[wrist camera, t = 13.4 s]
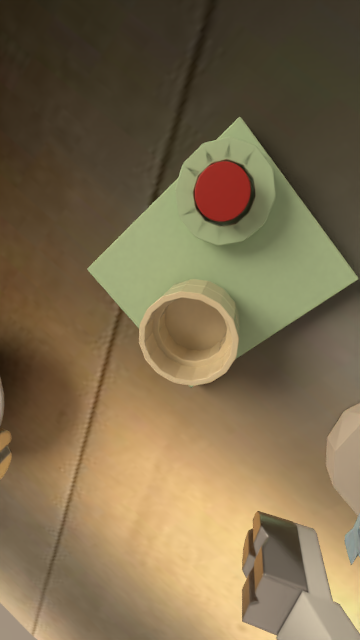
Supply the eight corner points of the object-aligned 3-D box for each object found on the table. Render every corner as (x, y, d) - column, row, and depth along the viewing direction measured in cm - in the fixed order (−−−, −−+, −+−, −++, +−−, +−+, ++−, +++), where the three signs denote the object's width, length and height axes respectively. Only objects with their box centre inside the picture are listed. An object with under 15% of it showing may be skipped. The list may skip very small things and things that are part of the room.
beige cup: (202, 260, 22) (193, 270, 18) (256, 326, 23) (259, 351, 18) (141, 311, 24) (119, 331, 20) (192, 370, 25) (181, 401, 21)
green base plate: (239, 121, 20) (239, 106, 17) (352, 275, 21) (368, 283, 19) (94, 265, 25) (75, 272, 22) (193, 380, 27) (187, 399, 24)
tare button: (228, 154, 18) (227, 147, 16) (260, 196, 19) (262, 194, 17) (188, 192, 19) (183, 189, 17) (220, 231, 20) (217, 233, 18)
